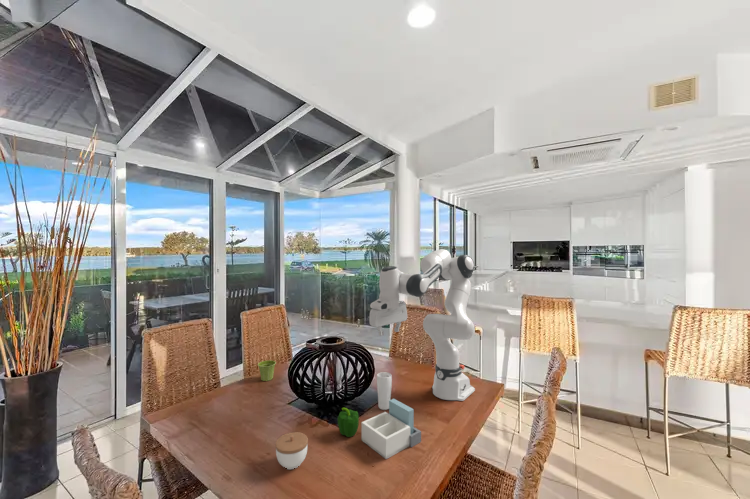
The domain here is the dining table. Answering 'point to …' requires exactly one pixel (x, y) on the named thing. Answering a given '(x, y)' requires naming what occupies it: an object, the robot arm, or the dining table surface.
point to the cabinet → (388, 435)
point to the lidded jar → (291, 449)
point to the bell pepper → (348, 422)
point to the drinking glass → (384, 389)
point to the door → (402, 413)
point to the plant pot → (266, 369)
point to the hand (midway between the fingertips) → (389, 333)
